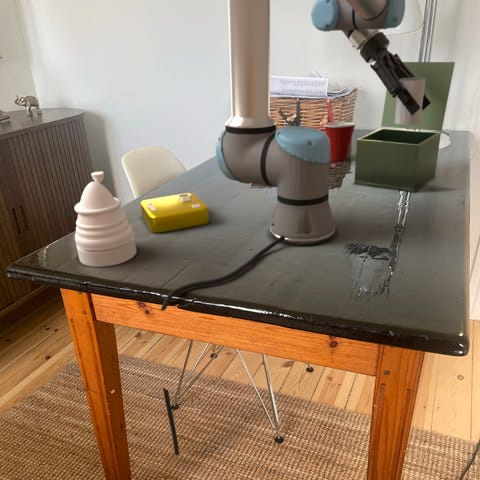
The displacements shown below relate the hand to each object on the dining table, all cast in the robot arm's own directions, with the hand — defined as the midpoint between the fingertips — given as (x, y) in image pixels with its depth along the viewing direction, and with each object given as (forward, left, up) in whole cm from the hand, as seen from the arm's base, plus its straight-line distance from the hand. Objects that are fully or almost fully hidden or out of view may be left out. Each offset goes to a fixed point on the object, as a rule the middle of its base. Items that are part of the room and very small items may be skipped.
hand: (421, 109), depth 137 cm
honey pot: (-84, +33, -21) cm, 92 cm away
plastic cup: (+13, +34, -21) cm, 42 cm away
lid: (+10, +7, +2) cm, 12 cm away
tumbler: (0, +3, -4) cm, 5 cm away
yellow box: (-60, +37, -21) cm, 73 cm away
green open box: (0, +6, -20) cm, 21 cm away
